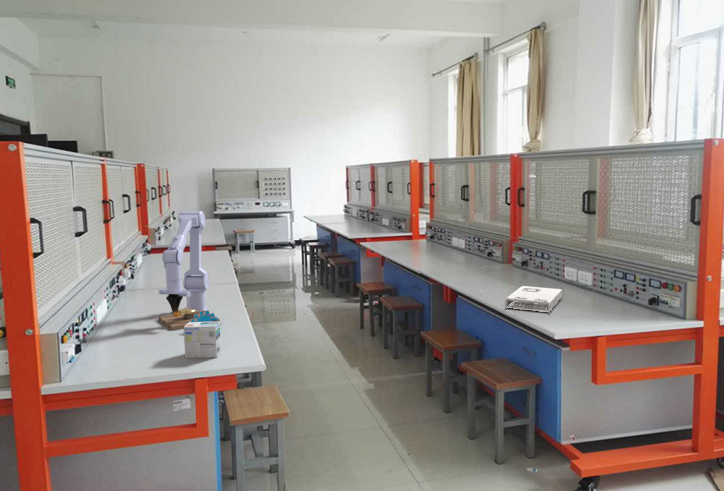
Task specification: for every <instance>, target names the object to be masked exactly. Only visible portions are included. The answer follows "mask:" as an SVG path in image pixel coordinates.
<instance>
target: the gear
mask: <svg viewBox="0 0 724 491" xmlns="http://www.w3.org/2000/svg"><path fill="white" fill-rule="evenodd" d="M209 314H211V315H209ZM202 315H203V312H200V318H198V315H197V314H196V315H194V317H195V318H196V319H197V321H196V322H213V321H212V320H215V321H217V318H218V317H217V316H215V313H214V312H211V313H210V310H209V311H206V314H205V315H204V316H202ZM207 315H209V316H207ZM214 316H215V318H210V317H214ZM191 322H195V321H194V319H192V320H191ZM220 326H221V322H220Z"/></svg>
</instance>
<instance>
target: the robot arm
mask: <svg viewBox="0 0 724 491" xmlns="http://www.w3.org/2000/svg"><path fill="white" fill-rule="evenodd" d="M177 219H178V221H177V222H178V224H179V226H178V230H177V234H176V235H173V237H172V239H171V241H170V243H169V246H168V247H167V249H165V250H164V251H163V252H162V262H163V267H164V269H165V280H166V282H165V283H166V284H165V285H166V288H160V289H158V295H167V296H166V297H165V298H166V300H167V302H168V303H169V306H170V309H171V312H172V313H173V312H174V311H177V310H179V308H180V304H181V301H183V298H184V297H185V298H186V308H194V309H196V311H200V310H204V311H209V312H210V308H209V309H208V308H207V306H206V301H207V300H206V291H207V290H208V288H209V287H210V286H209V285H210V279H209V273H208V271H206V270H205V269H204V268H202V231H205V229H206V228H205V227H206V216H205V213H204V212H203V210H200V211H199V210H195V211H194V210H193V211H191V210H190V211H189V210H188V211H186V210H181V211H179V213H178V216H177ZM188 234H189V269H188V270H186V271H185V272H184V276H183V281H182V263H183V260H184V250H185V248H186V245H187V239H186V238H187V236H188ZM183 288H184V289H183Z"/></svg>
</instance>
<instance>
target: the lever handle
mask: <svg viewBox="0 0 724 491" xmlns="http://www.w3.org/2000/svg"><path fill="white" fill-rule="evenodd" d="M194 313H196V309H194V308H187V307H183V308H180V309H178V310H177V311H174V312H172V315H173V317H180V316H182V315H189V314H194Z"/></svg>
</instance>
